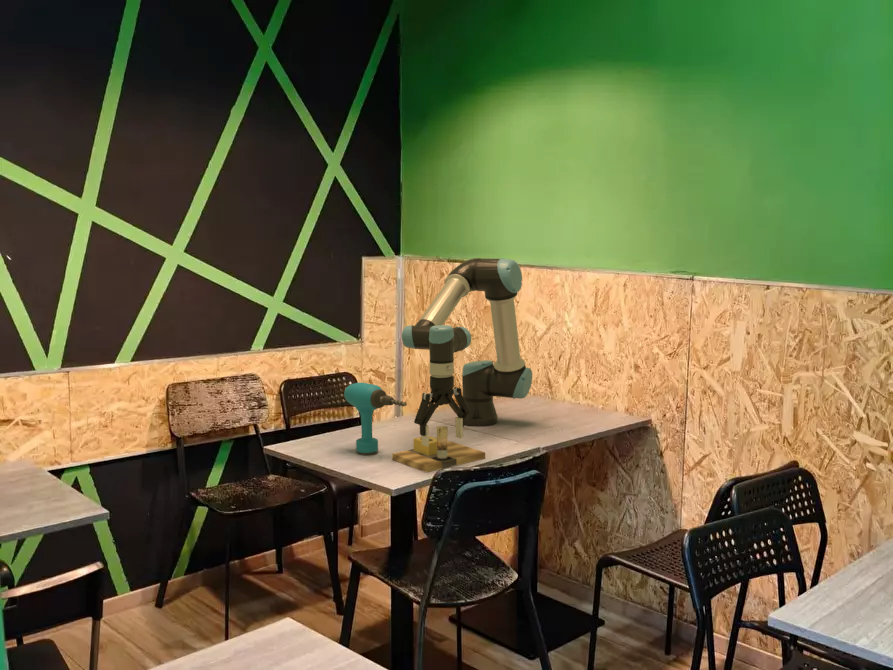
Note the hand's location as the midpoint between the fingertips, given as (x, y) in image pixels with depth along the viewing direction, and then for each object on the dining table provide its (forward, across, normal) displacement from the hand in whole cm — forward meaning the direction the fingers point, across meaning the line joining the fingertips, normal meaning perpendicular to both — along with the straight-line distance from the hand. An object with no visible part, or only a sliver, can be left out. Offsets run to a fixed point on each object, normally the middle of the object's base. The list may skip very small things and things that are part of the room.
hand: (442, 441), depth 268 cm
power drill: (+7, -10, +22) cm, 25 cm away
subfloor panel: (+7, +3, +5) cm, 9 cm away
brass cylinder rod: (+7, 0, 0) cm, 7 cm away
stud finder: (+5, +1, +9) cm, 10 cm away
